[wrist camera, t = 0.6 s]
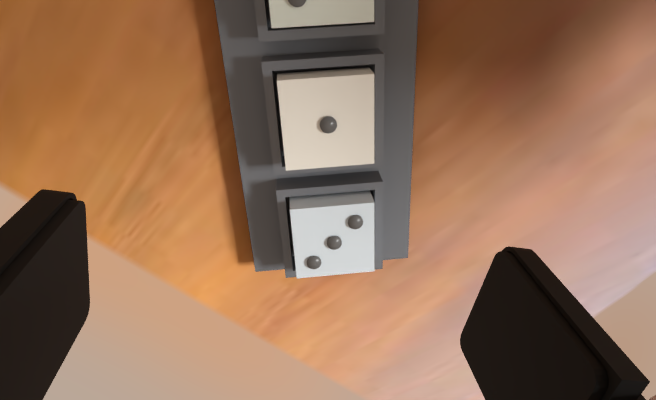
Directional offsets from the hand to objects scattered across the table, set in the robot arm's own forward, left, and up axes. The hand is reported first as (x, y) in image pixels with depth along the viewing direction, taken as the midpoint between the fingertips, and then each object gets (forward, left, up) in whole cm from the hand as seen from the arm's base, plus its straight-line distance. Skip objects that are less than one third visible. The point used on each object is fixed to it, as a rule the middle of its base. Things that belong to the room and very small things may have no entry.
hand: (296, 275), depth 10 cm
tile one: (-2, +3, -21) cm, 22 cm away
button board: (-2, +3, -24) cm, 25 cm away
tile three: (-2, +12, -22) cm, 25 cm away
